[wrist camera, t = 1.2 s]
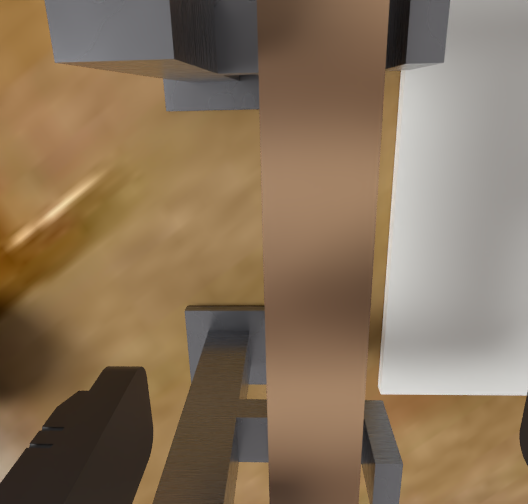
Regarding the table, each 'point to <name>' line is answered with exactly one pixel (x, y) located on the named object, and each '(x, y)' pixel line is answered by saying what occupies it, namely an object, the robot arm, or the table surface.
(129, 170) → the table surface
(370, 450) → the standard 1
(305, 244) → the rail
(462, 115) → the mat
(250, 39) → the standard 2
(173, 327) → the table surface
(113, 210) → the table surface
